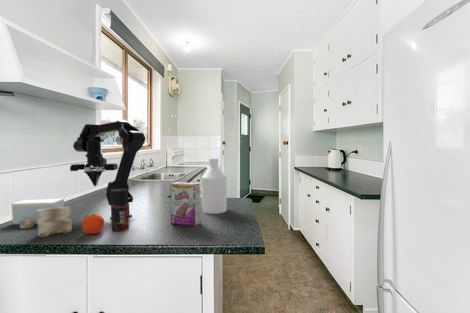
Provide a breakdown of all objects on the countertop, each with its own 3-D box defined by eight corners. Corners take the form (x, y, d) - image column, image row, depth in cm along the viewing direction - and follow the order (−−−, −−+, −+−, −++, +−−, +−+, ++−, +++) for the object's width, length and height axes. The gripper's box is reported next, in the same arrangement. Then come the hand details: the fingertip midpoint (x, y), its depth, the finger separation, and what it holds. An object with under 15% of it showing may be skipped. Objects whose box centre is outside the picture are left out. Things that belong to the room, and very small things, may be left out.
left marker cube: (33, 225, 101) (33, 218, 100) (28, 227, 98) (28, 220, 97) (25, 225, 100) (25, 218, 100) (20, 228, 97) (19, 220, 97)
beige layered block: (71, 227, 97) (70, 204, 97) (72, 231, 93) (71, 207, 93) (38, 233, 91) (37, 209, 91) (38, 237, 87) (36, 212, 87)
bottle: (214, 215, 112) (213, 159, 111) (196, 210, 120) (195, 158, 119) (232, 209, 121) (231, 158, 120) (214, 206, 129) (213, 157, 128)
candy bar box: (170, 224, 101) (169, 183, 100) (176, 220, 105) (176, 181, 104) (195, 227, 97) (194, 184, 96) (201, 223, 102) (200, 182, 101)
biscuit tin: (64, 218, 111) (63, 198, 110) (54, 223, 104) (53, 202, 103) (25, 219, 110) (24, 199, 109) (12, 224, 102) (11, 203, 102)
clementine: (75, 235, 90) (74, 215, 89) (92, 228, 96) (92, 210, 96) (92, 237, 87) (91, 217, 86) (108, 231, 93) (108, 212, 93)
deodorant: (118, 233, 91) (116, 192, 90) (108, 230, 94) (106, 190, 94) (132, 228, 96) (131, 189, 95) (122, 225, 99) (121, 187, 99)
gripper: (121, 151, 124) (122, 182, 125) (81, 151, 122) (82, 183, 123) (112, 152, 113) (113, 186, 114) (68, 152, 111) (70, 187, 112)
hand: (95, 185), depth 116 cm, fingers closed
